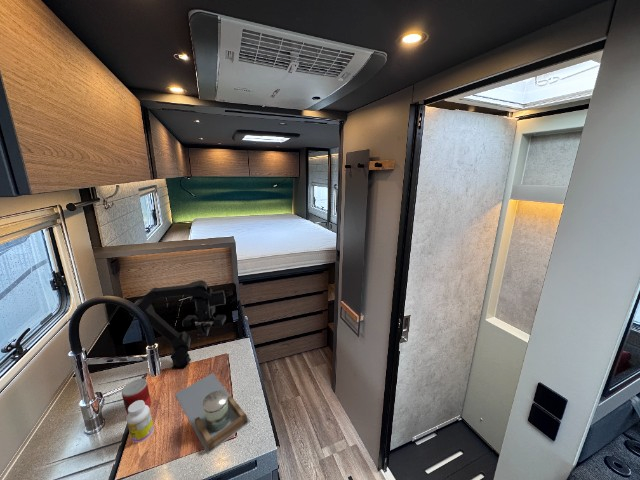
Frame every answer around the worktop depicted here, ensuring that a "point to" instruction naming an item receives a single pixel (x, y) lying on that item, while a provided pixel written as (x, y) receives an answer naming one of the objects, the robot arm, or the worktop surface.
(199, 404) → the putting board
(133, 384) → the canned food
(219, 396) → the tea tin
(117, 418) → the worktop surface
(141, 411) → the supplement bottle
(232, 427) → the walnut pocket
